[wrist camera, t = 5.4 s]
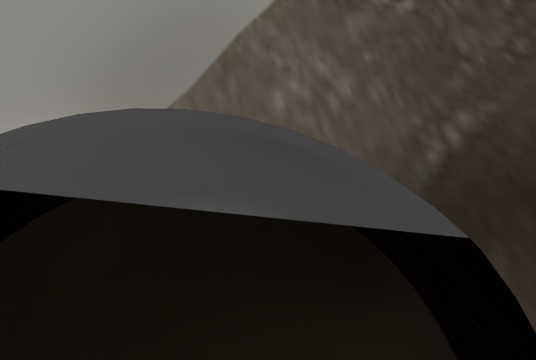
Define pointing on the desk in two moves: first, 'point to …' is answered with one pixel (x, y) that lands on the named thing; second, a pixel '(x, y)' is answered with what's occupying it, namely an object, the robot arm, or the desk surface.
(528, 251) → the desk surface
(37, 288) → the glass jar
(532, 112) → the desk surface
